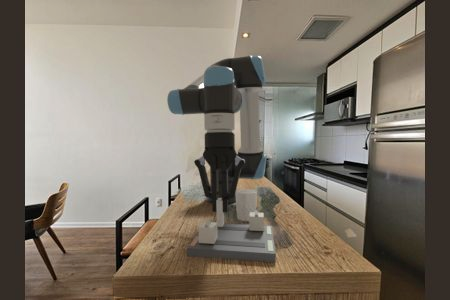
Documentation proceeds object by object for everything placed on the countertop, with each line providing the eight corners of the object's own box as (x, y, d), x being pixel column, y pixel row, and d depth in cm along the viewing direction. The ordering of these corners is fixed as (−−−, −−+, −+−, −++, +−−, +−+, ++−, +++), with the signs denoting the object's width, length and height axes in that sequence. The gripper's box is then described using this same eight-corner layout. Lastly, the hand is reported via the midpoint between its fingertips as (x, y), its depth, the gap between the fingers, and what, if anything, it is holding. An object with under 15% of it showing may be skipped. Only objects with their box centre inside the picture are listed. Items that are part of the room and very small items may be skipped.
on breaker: (250, 225, 69) (250, 210, 69) (263, 225, 69) (263, 210, 69) (249, 230, 65) (249, 214, 65) (263, 231, 65) (263, 214, 64)
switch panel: (204, 228, 74) (204, 222, 73) (271, 232, 70) (271, 225, 70) (186, 256, 56) (186, 247, 56) (275, 262, 53) (275, 253, 53)
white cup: (256, 222, 79) (256, 193, 79) (233, 221, 80) (233, 192, 80) (257, 215, 87) (257, 189, 86) (237, 214, 88) (236, 188, 88)
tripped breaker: (202, 236, 61) (202, 219, 61) (217, 237, 61) (217, 219, 61) (198, 243, 57) (198, 224, 57) (214, 244, 57) (214, 225, 56)
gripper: (189, 131, 55) (191, 228, 56) (244, 130, 53) (245, 231, 54) (198, 132, 62) (199, 218, 63) (246, 131, 60) (247, 220, 61)
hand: (220, 224), depth 59 cm, fingers closed
